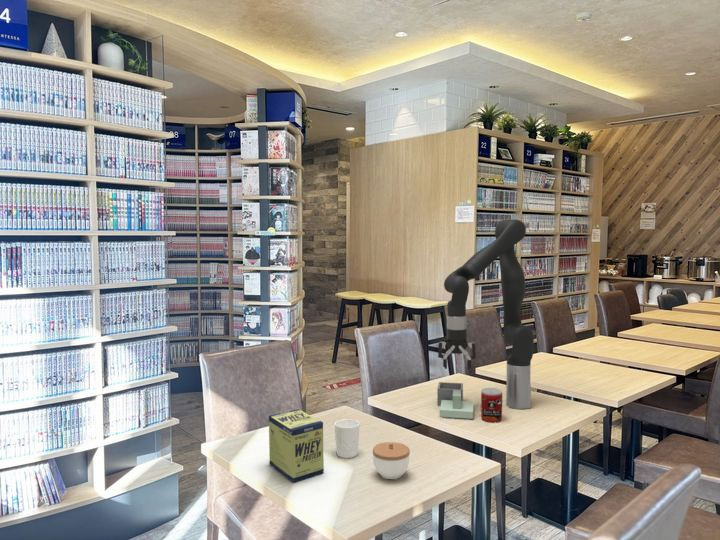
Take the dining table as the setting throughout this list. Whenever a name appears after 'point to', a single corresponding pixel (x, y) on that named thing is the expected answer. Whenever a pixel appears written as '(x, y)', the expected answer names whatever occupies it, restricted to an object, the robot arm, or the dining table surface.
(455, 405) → the lid
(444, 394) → the tub
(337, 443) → the white cup
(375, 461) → the lidded jar
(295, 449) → the protein box
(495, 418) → the canned food
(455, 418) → the mat
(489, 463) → the dining table surface
